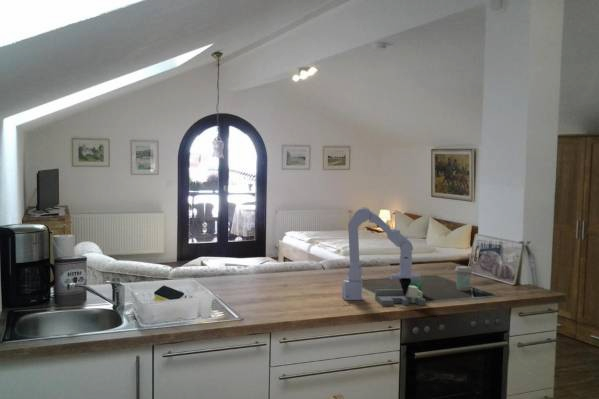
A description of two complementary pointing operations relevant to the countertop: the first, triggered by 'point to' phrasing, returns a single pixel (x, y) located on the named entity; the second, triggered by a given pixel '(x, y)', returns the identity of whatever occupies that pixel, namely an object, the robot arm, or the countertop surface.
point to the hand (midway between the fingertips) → (404, 294)
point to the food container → (417, 282)
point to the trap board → (397, 297)
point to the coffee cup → (463, 277)
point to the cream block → (412, 291)
